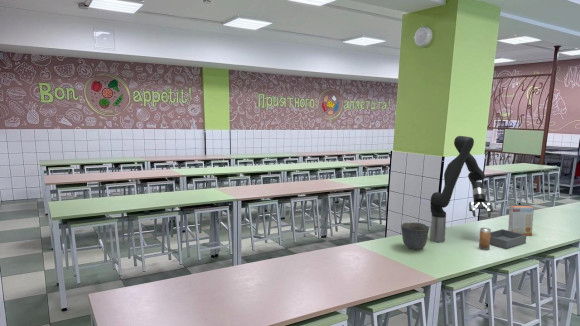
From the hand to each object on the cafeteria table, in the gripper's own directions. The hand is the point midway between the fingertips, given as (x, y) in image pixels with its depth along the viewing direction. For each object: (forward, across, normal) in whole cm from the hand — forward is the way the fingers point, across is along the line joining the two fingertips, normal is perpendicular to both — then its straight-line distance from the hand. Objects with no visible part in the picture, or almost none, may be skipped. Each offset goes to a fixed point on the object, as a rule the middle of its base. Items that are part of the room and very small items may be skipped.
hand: (481, 216), depth 238 cm
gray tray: (+10, +14, +18) cm, 25 cm away
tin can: (+21, 0, +4) cm, 21 cm away
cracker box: (-5, +30, +36) cm, 47 cm away
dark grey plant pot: (+29, -44, -8) cm, 53 cm away
